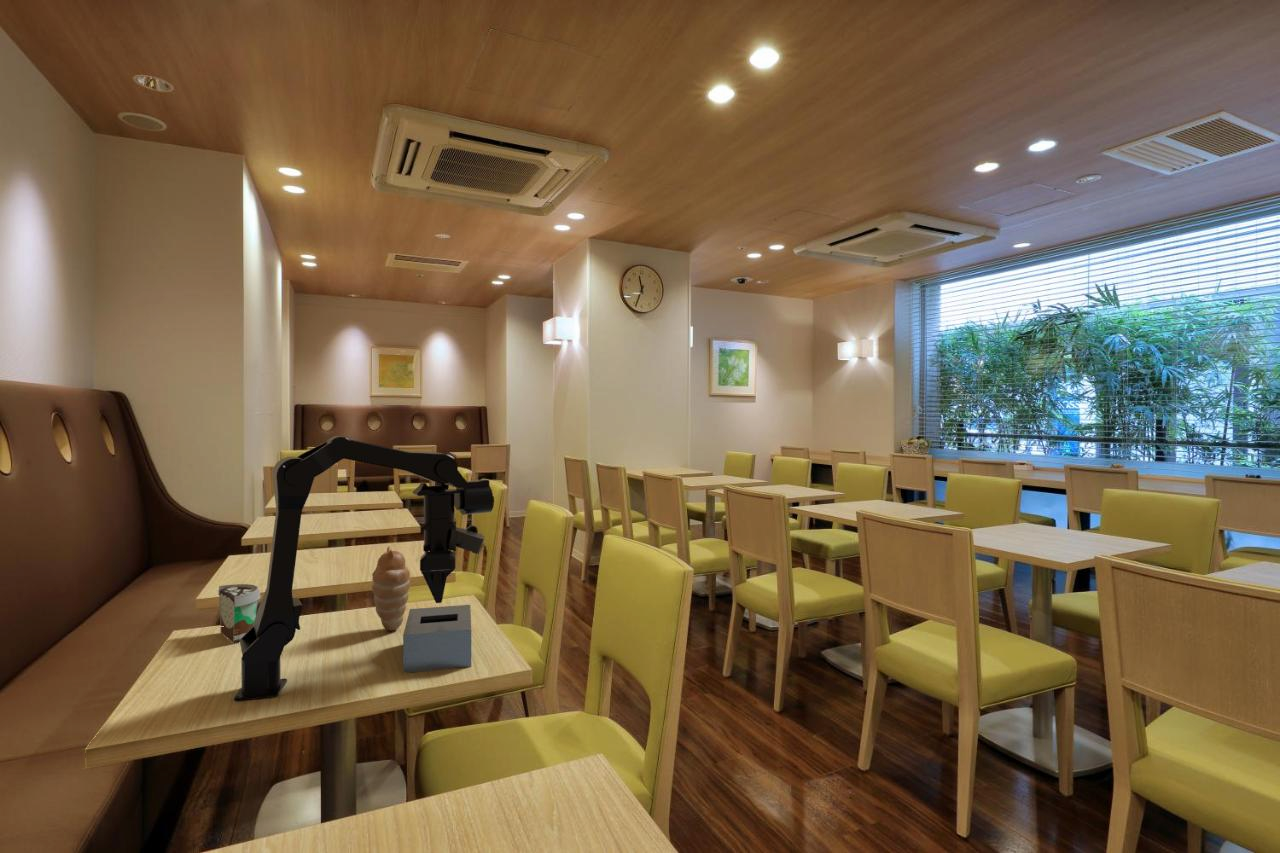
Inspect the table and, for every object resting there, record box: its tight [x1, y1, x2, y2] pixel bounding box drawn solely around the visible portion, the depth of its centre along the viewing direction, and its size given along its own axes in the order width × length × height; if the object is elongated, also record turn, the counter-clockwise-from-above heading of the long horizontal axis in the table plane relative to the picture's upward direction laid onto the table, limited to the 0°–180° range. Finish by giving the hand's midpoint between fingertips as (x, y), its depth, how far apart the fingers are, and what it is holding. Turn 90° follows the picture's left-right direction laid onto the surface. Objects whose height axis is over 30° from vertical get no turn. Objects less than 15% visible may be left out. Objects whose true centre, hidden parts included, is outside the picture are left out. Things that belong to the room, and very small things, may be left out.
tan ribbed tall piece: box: [371, 545, 411, 632], centre depth 139 cm, size 9×8×18 cm
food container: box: [218, 583, 262, 645], centre depth 136 cm, size 12×6×10 cm, turn 47°
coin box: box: [402, 604, 472, 674], centre depth 126 cm, size 16×12×7 cm
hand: (439, 596), depth 125 cm, fingers open, 9 cm apart
